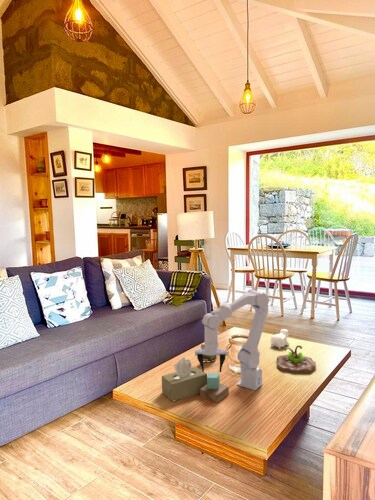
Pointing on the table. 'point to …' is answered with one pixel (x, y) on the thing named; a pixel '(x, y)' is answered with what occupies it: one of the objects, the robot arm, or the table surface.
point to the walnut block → (214, 393)
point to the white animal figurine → (280, 339)
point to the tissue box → (183, 381)
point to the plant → (295, 363)
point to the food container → (207, 357)
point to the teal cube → (213, 380)
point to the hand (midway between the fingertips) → (211, 370)
